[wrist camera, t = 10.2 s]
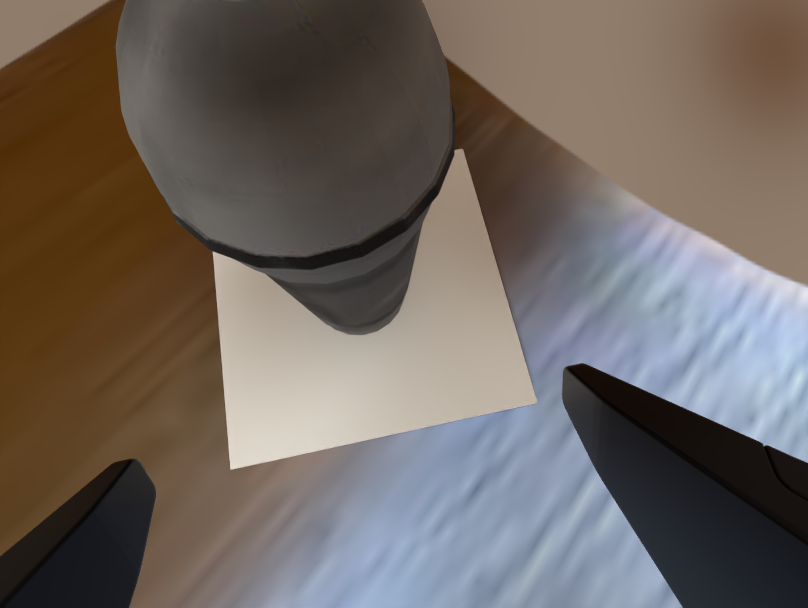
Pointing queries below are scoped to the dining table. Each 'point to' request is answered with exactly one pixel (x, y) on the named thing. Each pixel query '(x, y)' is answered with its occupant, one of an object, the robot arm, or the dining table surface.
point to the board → (373, 347)
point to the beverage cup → (295, 138)
